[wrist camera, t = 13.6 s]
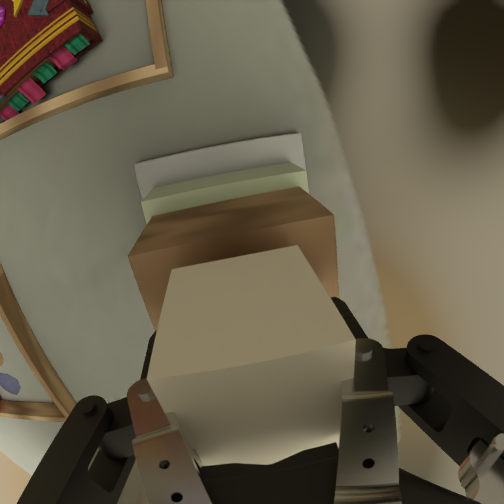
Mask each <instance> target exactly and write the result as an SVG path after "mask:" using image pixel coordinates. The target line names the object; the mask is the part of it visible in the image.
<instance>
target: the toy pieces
mask: <svg viewBox="0 0 504 504" xmlns="http://www.w3.org/2000/svg"><path fill="white" fill-rule="evenodd" d="M2 364H3V358H2V354H1V353H0V366H1V365H2ZM0 385H1V386H2V387H3V388H4V389H5V390H7V391H8V392H10V393H12V394H18V393H19V391H20V385H19V382H18V380H17V379H16V378H14V377H12V376H10V375H8V374H4V373H0Z"/></svg>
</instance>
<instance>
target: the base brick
mask: <svg viewBox="0 0 504 504" xmlns="http://www.w3.org/2000/svg"><path fill="white" fill-rule="evenodd" d="M294 187H301V188H302V189H303V190H305V191H306V192H307V193H308V194H309V190H308V181H307V173H306V170H304V169H302V168H301V167H299V166H297V165H295V164H294V163H292V162H289V163H283V164H276V165H270V166H264V167H258V168H252V169H246V170H240V171H235V172H229V173H224V174H219V175H213V176H208V177H203V178H198V179H193V180H189V181H184V182H179V183H175V184H170V185H166V186H161V187H157V188H153V189H152V190H151V191H150V192H149V193H148V194H147V196H146V197H145V198H144V199H143V200H142V201H141V205H142V209H143V213H144V217H145V220H146V224H148V222H149V221H150V219H151V217H152V216H156V215H160V214H164V213H169V212H173V211H178V210H182V209H187V208H191V207H196V206H201V205H205V204H210V203H215V202H220V201H225V200H230V199H235V198H240V197H245V196H250V195H255V194H261V193H266V192H271V191H277V190H282V189H288V188H294Z"/></svg>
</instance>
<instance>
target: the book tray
mask: <svg viewBox="0 0 504 504" xmlns="http://www.w3.org/2000/svg"><path fill="white" fill-rule="evenodd" d="M146 8H147V16H148V23H149V31H150V38H151V44H152V51H153V57H154V64H153V65H149V66H145V67H142V68H138V69H135V70H131V71H128V72H124V73H121V74H118V75H115V76H112V77H109V78H106V79H103V80H100V81H97V82H94V83H91V84H88V85H86V86H83V87H80V88H78V89H75V90H72V91H70V92H67V93H65V94H62V95H60V96H58V97H55V98H53V99H51V100H48V101H46V102H44V103H41V104H39V105H37V106H35V107H33V108H31V109H29V110H26V111H24V112H22V113H20V114H18V115H16V116H14V117H12V118H10V119H8V120H7V121H5V122H3V123H1V124H0V140H1V139H3V138H5V137H7V136H9V135H11V134H13V133H15V132H17V131H19V130H21V129H23V128H25V127H28V126H30V125H32V124H34V123H36V122H39V121H41V120H43V119H46V118H48V117H50V116H53V115H55V114H58V113H60V112H63V111H65V110H68V109H70V108H73V107H76V106H78V105H81V104H84V103H86V102H89V101H92V100H95V99H98V98H101V97H104V96H107V95H110V94H113V93H116V92H120V91H123V90H126V89H130V88H133V87H137V86H140V85H144V84H148V83H152V82H156V81H160V80H164V79H168V78H172V77H173V73H172V67H171V61H170V55H169V48H168V42H167V36H166V29H165V22H164V15H163V8H162V1H161V0H146Z"/></svg>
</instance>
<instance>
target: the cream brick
mask: <svg viewBox="0 0 504 504" xmlns="http://www.w3.org/2000/svg"><path fill="white" fill-rule="evenodd" d="M355 345H356V339H355V338H354V336H353V334H352V333H351V331H350V329H349V328H348V326H347V324H346V323H345V321H344V319H343V318H342V316H341V314H340V313H339V311H338V309H337V308H336V306H335V304H334V303H333V301H332V299H331V298H330V296H329V295H328V293H327V291H326V290H325V288H324V286H323V285H322V283H321V282H320V280H319V278H318V277H317V275H316V274H315V272H314V270H313V269H312V267H311V266H310V264H309V262H308V261H307V259H306V258H305V256H304V255H303V253H302V251H301V250H300V248H299V247H298V245H295V246H290V247H285V248H279V249H274V250H269V251H264V252H259V253H254V254H248V255H243V256H238V257H233V258H228V259H223V260H217V261H212V262H207V263H202V264H197V265H191V266H186V267H181V268H176V269H172V270H171V274H170V278H169V282H168V286H167V290H166V294H165V298H164V302H163V306H162V311H161V315H160V319H159V323H158V328H157V332H156V337H155V341H154V346H153V350H152V355H151V360H150V365H149V370H148V375H147V381H148V382H149V384H150V386H151V388H152V390H153V392H154V394H155V396H156V398H157V399H158V401H159V403H160V405H161V407H162V409H163V410H164V412H165V413H169V412H175V414H176V416H177V418H178V420H179V422H180V424H181V427H182V429H183V431H184V434H185V436H186V438H187V440H188V442H189V444H190V446H191V447H192V449H195V450H196V451H197V453H198V455H199V457H200V459H201V461H202V463H203V465H204V466H210V465H220V464H228V463H244V464H262V465H269V464H273V463H276V462H278V461H280V460H283V459H285V458H287V457H290V456H292V455H294V454H296V453H299V452H301V451H303V450H307V449H311V448H315V447H319V446H323V445H327V444H331V443H334V442H336V443H337V446H338V445H339V431H340V421H341V404H342V381H344V380H348V379H352V378H354V365H355Z"/></svg>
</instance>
